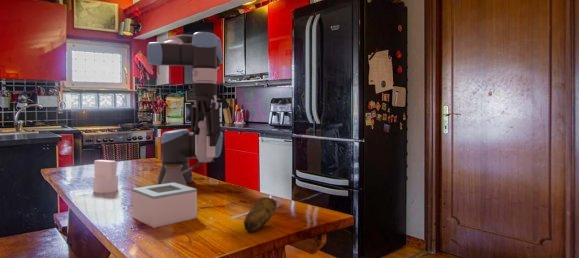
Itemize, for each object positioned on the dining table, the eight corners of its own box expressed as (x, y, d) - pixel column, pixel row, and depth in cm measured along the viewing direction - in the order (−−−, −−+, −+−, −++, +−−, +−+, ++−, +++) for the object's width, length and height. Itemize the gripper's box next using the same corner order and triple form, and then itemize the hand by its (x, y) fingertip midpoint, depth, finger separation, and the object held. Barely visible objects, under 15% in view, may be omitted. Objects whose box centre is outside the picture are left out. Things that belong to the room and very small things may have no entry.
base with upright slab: (88, 191, 155) (87, 161, 154) (106, 187, 164) (105, 158, 163) (105, 193, 152) (104, 163, 151) (123, 189, 160) (122, 160, 159)
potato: (232, 229, 111) (232, 201, 110) (265, 219, 120) (266, 193, 119) (251, 236, 105) (251, 206, 104) (285, 225, 114) (285, 198, 114)
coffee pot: (163, 207, 133) (163, 163, 132) (152, 200, 142) (152, 159, 142) (220, 198, 146) (220, 158, 145) (207, 192, 155) (206, 155, 154)
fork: (220, 219, 121) (220, 214, 121) (277, 205, 138) (277, 200, 138) (227, 222, 118) (227, 216, 118) (284, 207, 136) (284, 202, 136)
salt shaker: (209, 163, 122) (209, 121, 121) (192, 162, 123) (192, 121, 122) (217, 160, 128) (216, 120, 127) (200, 159, 129) (200, 120, 128)
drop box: (174, 209, 131) (174, 182, 130) (197, 218, 121) (196, 189, 120) (132, 217, 121) (132, 188, 120) (153, 227, 111) (153, 196, 111)
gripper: (178, 83, 128) (179, 153, 130) (211, 81, 115) (211, 160, 116) (198, 83, 133) (199, 151, 135) (232, 82, 120) (232, 157, 122)
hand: (205, 155), depth 126 cm, fingers closed on salt shaker, 6 cm apart
